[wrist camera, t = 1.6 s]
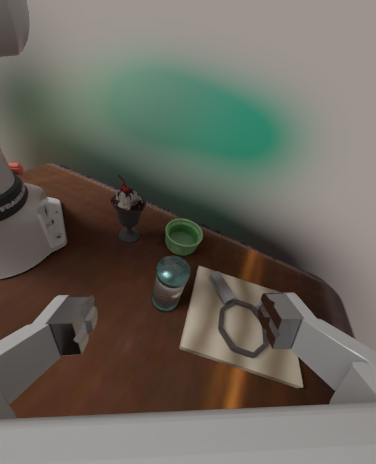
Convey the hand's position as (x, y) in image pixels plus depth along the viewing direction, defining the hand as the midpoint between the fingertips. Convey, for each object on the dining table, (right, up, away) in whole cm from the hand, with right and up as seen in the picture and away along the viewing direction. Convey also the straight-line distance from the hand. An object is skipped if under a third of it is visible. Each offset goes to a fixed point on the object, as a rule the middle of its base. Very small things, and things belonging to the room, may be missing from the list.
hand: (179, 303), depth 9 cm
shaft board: (+10, -13, +26) cm, 31 cm away
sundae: (-14, +3, +35) cm, 38 cm away
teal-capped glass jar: (-4, -9, +26) cm, 28 cm away
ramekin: (-1, +1, +37) cm, 37 cm away
